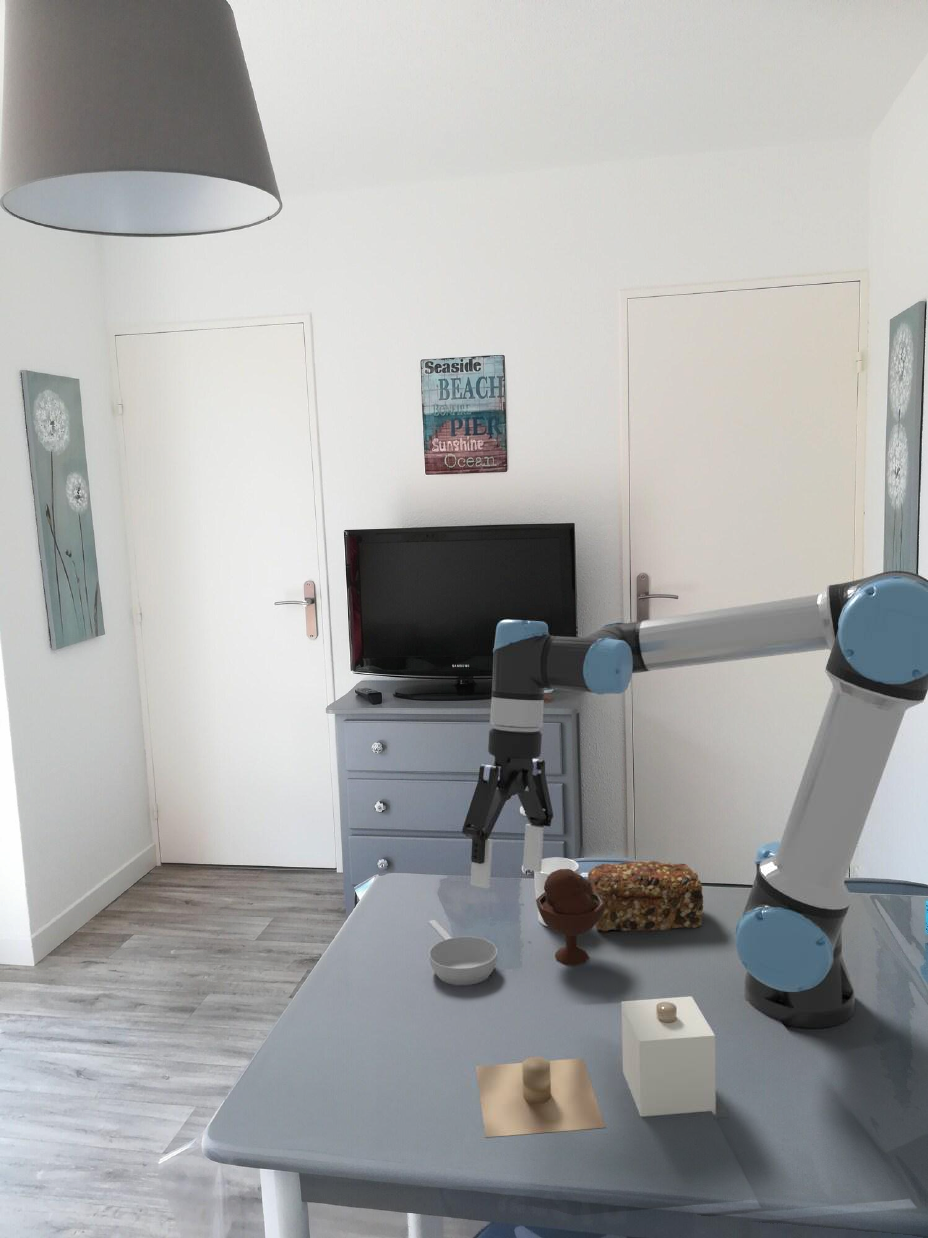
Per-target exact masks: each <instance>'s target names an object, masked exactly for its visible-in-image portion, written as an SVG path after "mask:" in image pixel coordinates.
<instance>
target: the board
mask: <svg viewBox="0 0 928 1238" xmlns="http://www.w3.org/2000/svg"><path fill="white" fill-rule="evenodd" d="M583 1058H584V1057H583ZM583 1058H582V1057H580V1058H569V1059H568V1058H567V1059H554V1060H548V1061H549V1063H550V1078H551V1098H550V1099H549V1100H548V1101H547V1102H545V1103H541V1104H533V1103H530V1102H528V1101H526V1100H525V1099H524V1097H523V1073H522V1063H523V1062H515V1063H502V1064H501V1063H500V1064H489V1065H488V1064H487V1065H476V1066H475V1071H476V1078H477V1085H478V1093H479V1100H480V1106H481V1107H480V1108H481V1116H482V1122H483V1129H484V1138H486V1139H487V1138H497V1137H498V1138H500V1137H511V1136H512V1137H513V1136H522V1135H535V1134H548V1133H559V1132H560V1133H561V1132H569V1131H570V1132H573V1131H583V1130H596V1129H597V1130H598V1129H607V1128H606V1125H605V1121H604V1117H603V1116H602V1112H601V1110H600V1106H599V1103H598V1100H597V1097H596V1095H595V1090H594V1088H593V1086H592V1081H591V1079H590V1077H589V1073H588V1070H587V1067H586V1063H585V1060H584V1059H583Z"/></svg>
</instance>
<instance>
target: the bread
mask: <svg viewBox="0 0 928 1238" xmlns="http://www.w3.org/2000/svg"><path fill="white" fill-rule="evenodd" d="M587 880H588V881H589V882H590V883H591V887H592V891H593V892H595V893H597V894H600V895H601V897H602V899H603V900H604V902H605V908H604V912H603V914H602V916H601V919H600V920H599V921H598V922H597V923H596V924H595V925H594V926H595V928H596V930H597V931H604V932H605V933H607V932H608V931H609V930H617V931H622V932H631V931H632V932H637V931H668V930H671V929H678V928H679V929H682V928H683V929H684V928H692V929H695V928H698V927H700V926H701V925H702V920H703V916H704V905H703V904H704V896H703V885H702V881H701V880H700V879H699V877H698V874H697V872H693V870H692V869H691V867H689V866H688V865H687V863H672V862H667V863H665V862H659V861H655V860H651V861H649V860H646V861H637V860H636V861H631V862H627V861H626V862H621V863H617V864H615V863H614V864H611V863H602V864H599V865H596V866H594V867H593V868H591V869H590V870H589V872H588V873H587Z"/></svg>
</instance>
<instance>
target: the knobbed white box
mask: <svg viewBox="0 0 928 1238" xmlns="http://www.w3.org/2000/svg"><path fill="white" fill-rule="evenodd" d="M621 1037H622V1039H621V1040H622V1041H621V1042H622V1043H621V1044H622V1073H623V1076H624V1078H625V1080H626V1083H627V1085H628V1088H629V1091H630V1093H631V1095H632V1099H633V1101H634V1103H635V1105H636V1109H637V1112H638V1113H639V1116H640V1117H651V1116H666V1115H675V1114H676V1115H677V1114H679V1115H680V1114H690V1113H701V1112H711V1113H712V1115H713V1116H714V1115H716V1097H715V1091H716V1035H715V1033H714V1031H713V1030H712V1028H711V1026H710V1025H709V1023H708V1021H707V1020H706V1018H705V1017H704V1015H703V1013H702V1011H701V1010H700V1008H699V1006H698V1004H697V1003H696V1001H695V999H694V998H693V996H677V997H665V998H652V999H649V998H648V999H636V1000H625V1001H621Z"/></svg>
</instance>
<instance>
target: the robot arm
mask: <svg viewBox="0 0 928 1238" xmlns="http://www.w3.org/2000/svg"><path fill="white" fill-rule="evenodd" d="M493 646H494V647H493V649H492V653H493V656H492V657H493V658H492V659H493V660H492V661H493V662H492V681H491V682H492V683H491V686H492V687H491V703H490V719H489V723H490V724H491V725H493V727H491V728H490V730H489V731H488V748H487V751H488V753H489V754H490V755H491V756H493V757H494V761H493V765H490V764H484V763H483V764H481V765H480V766H479V770H478V777H477V778H478V779H477V783H476V787H475V789H474V792H473V795H472V798H471V801H470V805H469V808H468V811H467V814H466V817H465V820H464V823H463V826H462V829H461V831H462V834H463V835H465V837H468V838H471V854H470V855H471V856H470V859H471V867H470V882H469V883H470V886H474V887H478V888H482V889H487V890H488V889H490V888H491V887H490V886H491V870H492V856H493V839H492V838H490V836H491V834H492V832H493V829H494V827H495V825H496V823H497V821H498V818H499V817H500V815H501V812H502V810H503V808H504V806H505V804H506V802H507V801H509V800H510V799H511V798H512V796H518V799H519V801H520V803H521V807H522V808H523V811H524V813H525V815H526V817H527V820H528V822H529V823H526V824H525V825H524V826H525V829H524V840H523V841H524V842H523V843H524V846H523V862H522V869H523V870H528V871H532V872H534V871H536V872H540V871H541V865H542V859H543V846H544V844H543V843H544V828H545V827H551V825H552V820H553V818H554V812H553V807H552V801H551V796H550V791H549V786H548V782H547V777H546V761H545V760H544V759H539V757H540V756H541V754H542V736H543V733H541V730H539V729H540V728H542V727H543V725H544V699H545V690H546V689H548V690H561V691H569V692H571V691H572V692H579V693H580V692H582V693H591V694H592V693H593V694H597V695H600V696H601V695H605V694H606V695H607V694H609V695H610V694H611V695H620V694H622V693H624V692H625V691H627V689H628V687H629V684H630V683H631V680H632V676H633V674H638V673H639V674H640V673H646V672H650V671H658V670H666V669H667V670H668V669H674V668H683V667H685V668H686V667H691V666H701V665H708V664H715V663H725V662H732V661H733V662H734V661H741V660H750V659H751V660H752V659H758V658H767V657H773V656H781V655H782V656H785V655H791V654H799V653H801V654H802V653H807V652H816V651H817V652H818V651H825V650H829V651H830V655H829V657H828V659H827V663H826V666H825V667H824V668H825V669H824V672H825V674H826V675H827V677H828V679H829V681H830V682H831V685H832V690H831V692H830V695H829V698H828V700H827V703H826V706H825V709H824V712H823V715H822V718H821V721H820V725H819V727H818V730H817V733H816V736H815V739H814V741H813V744H812V747H811V751H810V754H809V756H808V760H807V764H806V766H805V768H804V771H803V774H802V777H801V781H800V783H799V787H798V789H797V792H796V795H795V799H794V801H793V804H792V806H791V810H790V813H789V817H788V819H787V823H786V825H785V828H784V831H783V833H782V836H781V840H780V841H775V842H768V843H764V844H763V845H761V846H759V847H758V849H757V850H756V851H757V852H756V858H755V859H756V860H754V864H755V866H756V867H755V868H756V875H755V877H754V880H753V884H752V887H751V890H750V892H749V896H748V899H747V901H746V905H745V907H744V910H743V914H742V916H741V917H740V919H739V920H738V922H737V924H736V926H735V942H734V943H735V950H736V952H737V956H738V959H739V960H740V961H741V964H742V965H743V966H744V968H745V970H746V973H745V977H744V980H743V981H744V983H743V984H744V986H743V988H744V989H743V990H744V993H743V994H744V999H745V1001H746V1002H748V1004H750V1006H752V1008H754V1009H755V1010H757V1011H758V1012H760V1013H761V1014H764V1015H765V1016H767V1017H769V1018H772V1019H775V1020H778V1021H780V1022H781V1024H783V1025H786V1026H792V1027H798V1028H806V1029H807V1028H809V1029H818V1028H819V1029H820V1028H821V1029H822V1028H830V1027H834V1026H837V1025H840V1024H843V1023H845V1022H847V1021H848V1020H849V1019H850V1018H851V1017H852V1016H853V1015H854V1012H855V1009H856V1008H855V1001H856V999H855V998H856V995H855V990H854V989H855V988H854V986H853V983H852V981H851V977H850V975H849V972H848V968H847V965H846V963H845V959H844V956H843V924H844V923H845V918H846V915H847V914H848V911H849V907H850V905H851V903H852V895H851V894H850V891H849V890H848V888H847V886H846V884H845V880H846V878H847V875H848V872H849V869H850V866H851V863H852V860H853V858H854V855H855V852H856V849H857V847H858V844H859V841H860V839H861V837H862V832H863V830H864V827H865V824H866V821H867V819H868V816H869V814H870V811H871V809H872V806H873V805H872V804H873V802H874V799H875V796H876V793H877V791H878V788H879V785H880V782H881V780H882V777H883V774H884V772H885V769H886V766H887V763H888V761H889V758H890V755H891V752H892V750H893V746H894V744H895V741H896V738H897V736H898V732H899V730H900V727H901V724H902V722H903V719H904V716H905V713H906V711H907V710H908V709H910V708H912V707H915V706H917V705H919V704H922V703H923V702H924V701H925V700H926V696H927V694H928V579H927V578H925V577H924V576H921V575H919V574H916V573H915V572H912V571H906V570H887V571H883V572H881V573H876V574H874V575H873V574H872V575H870V576H866V577H864V578H860V579H856V580H852V581H847V582H841V583H836V584H829V585H827V586H826V587H825V588H824V589H823V590H822V591H821V593H820V594H814V595H813V594H812V595H808V596H807V595H806V596H800V597H794V598H786V599H780V600H774V601H773V600H772V601H766V602H759V603H754V604H746V605H740V606H734V607H733V606H732V607H726V608H725V607H724V608H721V609H713V610H707V611H700V612H699V611H698V612H692V613H687V614H685V613H684V614H681V615H680V614H679V615H673V616H665V617H659V618H652V619H646V620H642V621H633V622H624V621H623V622H622V621H621V622H613V623H612V622H611V623H608V624H606V625H604V626H602V627H601V628H600V629H597V630H595V631H593V632H590V633H588V634H585V635H584V636H579V637H578V636H559V635H550V632H549V626H548V624H547V623H546V622H545V621H539V620H538V621H536V620H522V619H503V620H500V621H499V622H498V623H497V625H496V629H495V637H494V644H493Z"/></svg>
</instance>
